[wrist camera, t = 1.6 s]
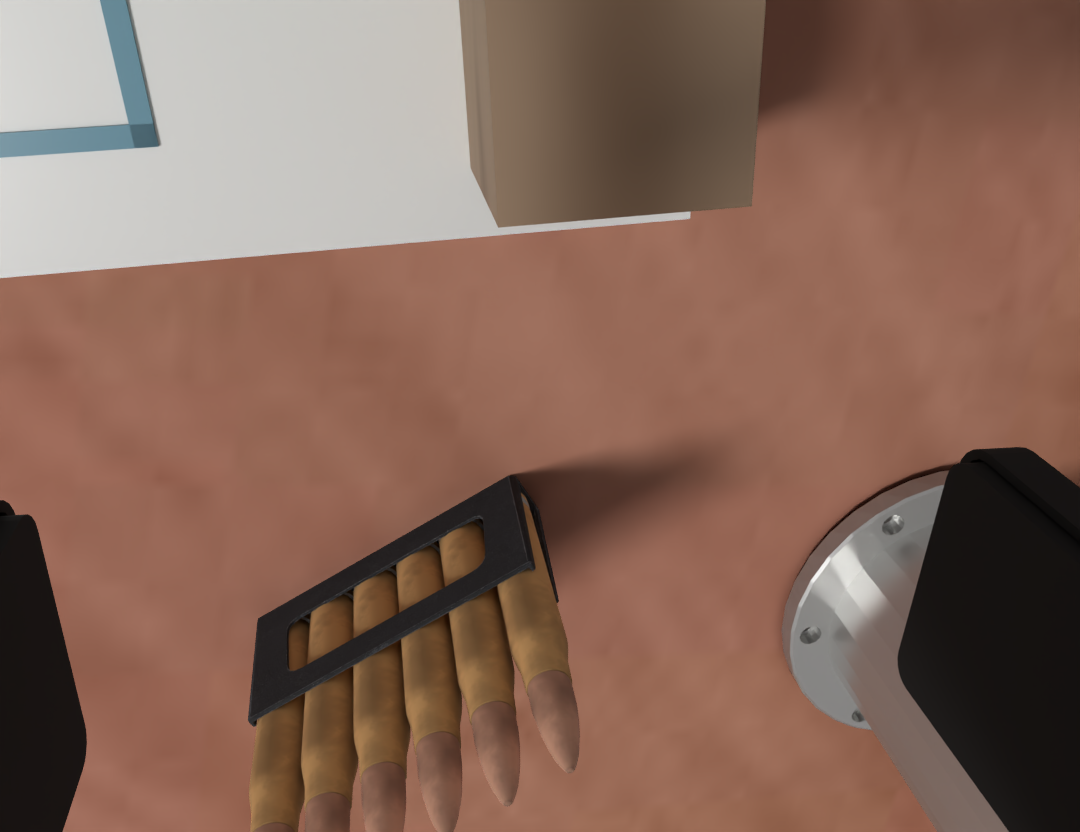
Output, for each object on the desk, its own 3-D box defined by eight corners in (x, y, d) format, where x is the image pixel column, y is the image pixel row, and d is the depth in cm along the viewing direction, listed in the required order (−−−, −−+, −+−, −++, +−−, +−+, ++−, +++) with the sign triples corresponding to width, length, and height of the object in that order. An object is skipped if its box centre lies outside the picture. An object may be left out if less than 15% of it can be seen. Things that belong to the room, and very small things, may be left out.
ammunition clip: (513, 472, 33) (587, 730, 22) (539, 509, 33) (622, 774, 23) (256, 619, 34) (208, 934, 23) (287, 651, 34) (255, 969, 24)
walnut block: (683, -81, 25) (771, -84, 19) (676, 152, 27) (751, 206, 22) (453, -71, 24) (480, -71, 18) (470, 167, 27) (498, 227, 21)
